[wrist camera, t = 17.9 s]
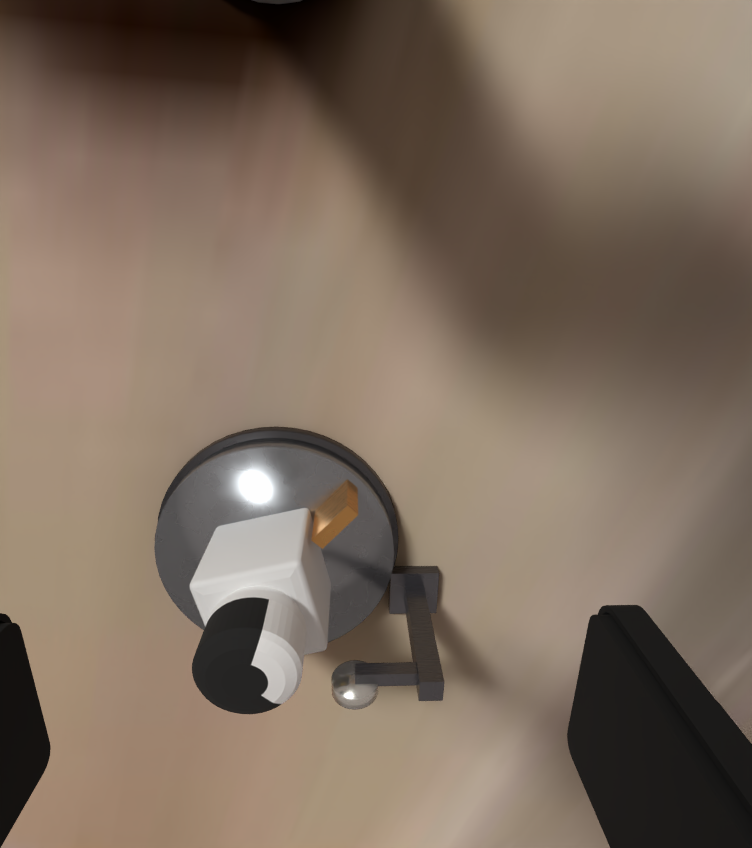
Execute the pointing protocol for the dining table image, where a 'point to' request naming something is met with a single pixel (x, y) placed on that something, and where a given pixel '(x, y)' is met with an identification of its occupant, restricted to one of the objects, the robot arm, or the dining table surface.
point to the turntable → (275, 493)
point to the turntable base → (296, 435)
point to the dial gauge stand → (417, 599)
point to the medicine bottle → (259, 610)
